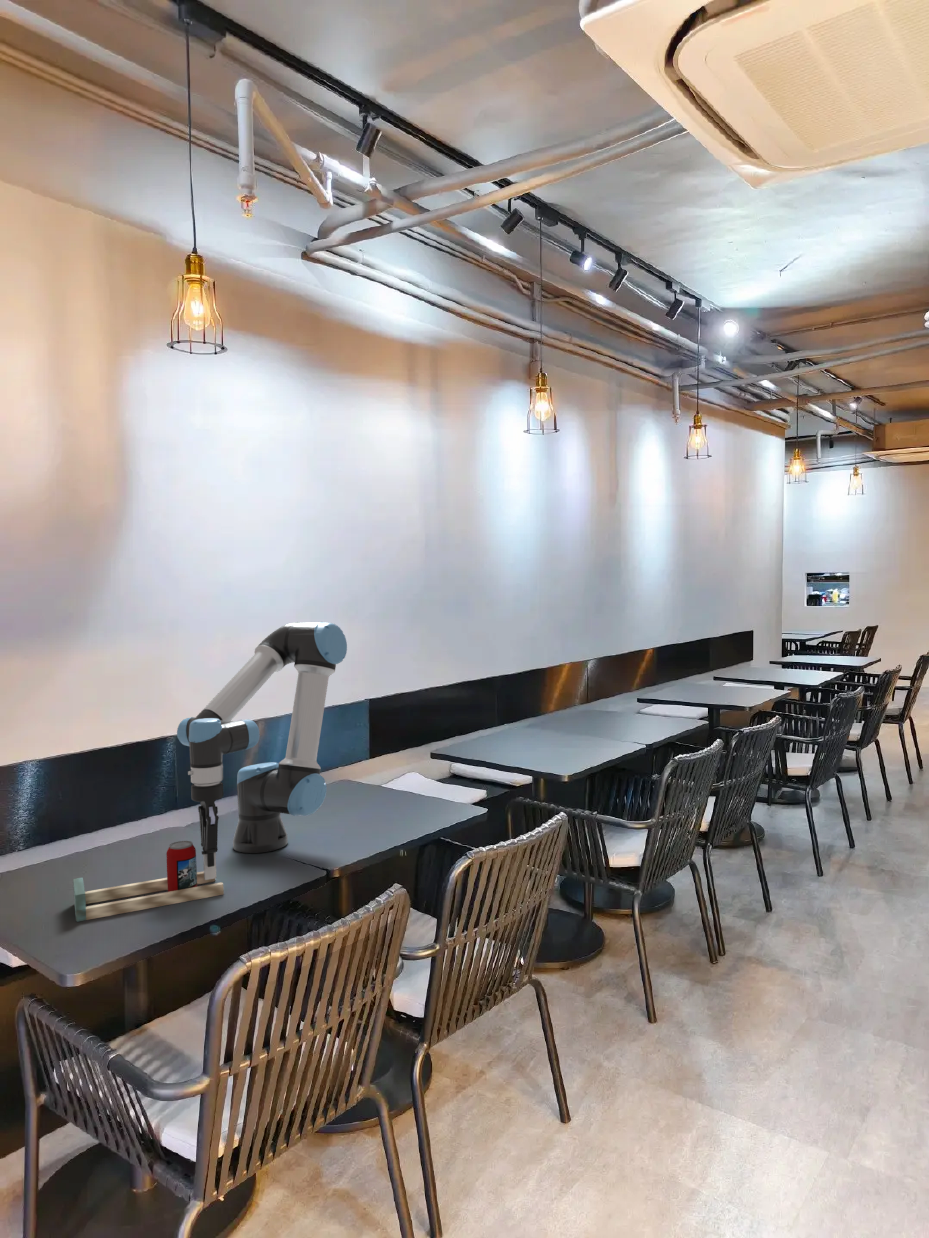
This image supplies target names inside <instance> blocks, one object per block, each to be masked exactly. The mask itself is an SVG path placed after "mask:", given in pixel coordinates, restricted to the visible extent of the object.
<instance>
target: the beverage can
mask: <svg viewBox="0 0 929 1238" xmlns="http://www.w3.org/2000/svg"><path fill="white" fill-rule="evenodd" d="M193 843H194V842H192V841H191V840H179V841H174V842H172V843H170V844H169V846H168V848H167V850H166V854H165V855H166V878H167V884H168V890H167V892H170V891H176V890H182V889H187V888H193V887H198V884H197V872H198V871H197V870H198V869H197V868H198V867H197V850H196V847H195V846H194V844H193Z"/></svg>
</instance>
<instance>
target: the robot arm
mask: <svg viewBox="0 0 929 1238" xmlns="http://www.w3.org/2000/svg"><path fill="white" fill-rule="evenodd" d="M347 643H348V641H347V638H346V635H345V634H344V631H343V630H342V629H341V627H340V626H338V625H337V624H335V623H332V622H325V621H320V622H319V621H318V622H315V621H314V622H298V621H297V622H291V623H290V622H289V623H287V624H284V625H282V626H281V627H279V628H277V629H275V630H274V631H272V632H271V633H270V634H269V635H267V636H266V637H264V639H263V640H262V641H261V642H260V643H259V644H258V645H257V646H256V647H255V648H254V654H253V655H252V657H251V658H249V660H248V661H246V663H245V664H244V665H243V666H242V668H240V669H239V670H238V672H236V674H235V675H234V676H233V677H232V678H231V679H230V680H229V681H228V682H227V683H226V685H224V686H223V688H222V689H221V690H220V691H218V693H217V694H216V695H215V696H214V697H213V698H212V700H211V701H209V703H207V705H206V706H205V707H204V708H202V710H201V711H200V712H199V713H198V714H197V716H195V717H193V716H192V717H186V718H184V719H182V720H180V722H179V724H178V726H177V729H176V736H177V739H178V740H179V742H180V744H182V745H183V746H187V747H188V748H189V765H190V770H189V771H187V775H188V776H190V783H192V785H191V786H190V792H191V795H190V797H191V798H190V799H191V800H192V801H194V802H200V805H198V808H197V811H198V817H199V818H198V819H199V831H200V832H199V833H200V846H201V847H202V848H201V849H202V850H201V855H203V856H202V860H203V871H204V879H205V880H209V879H215V880H216V879H217V858H216V857H217V854H216V852H218V831H219V830H218V828H219V827H218V826H219V815H218V813H219V811H218V809H219V808H218V806H216V803H215V801H217V800H221V799H223V797H224V783H223V782H222V781H223V780H224V763H223V755H227V754H232V753H237V752H240V751H246V750H249V749H251V748H252V749H253V748H254V747H256V746H257V744H258V743H259V741H260V728H259V726H258V725H257V723H256V722H255V721H254V720H253V719H249V718H248V719H239V720H234V721H233V719H234V718H235V717H236V715H238V714H239V712H240V711H241V710H242V709H243V708H244V707H245V706H246V705H247V704H248V702H249V701H250V700H251V699H252V698H253V697H254V696H255V694H256V693H258V691H259V690H260V689H261V688H262V687H263V686H264V685H265V683H266V682H267V681H268V680H269V679H270V678H271V677H272V676H273V674H274V673H279V672H280V671H282V670H283V669H284V668H285V667H286V666H287V665H289V664H292V663H294V666H293V667H294V668H295V669H296V671H297V673H298V676H297V680H296V687H295V694H294V701H293V707H292V713H291V720H290V726H289V733H288V739H287V743H286V744H287V746H286V751H285V757H284V758H283V759H282V760H280V761H279V762H274V761H273V762H271V761H269V762H262V763H257V764H251V765H247V766H244V767H241V768H240V769H239V770H238V772H237V776H236V778H237V780H236V791H237V809H238V811H237V812H238V821H237V825H236V828H235V832H234V835H233V838H232V845H233V846H232V847H233V848H232V849H234V850H235V852H239V853H246V854H260V853H261V854H262V853H268V852H272V851H277V850H279V849H282V848H284V847H285V846H287V845H288V842H289V841H288V833H287V830H286V828H285V827H286V826H285V825H284V822H283V820H282V817H281V816H282V815H281V814H285V815H292V817H293V816H294V817H298V816H299V817H300V816H301V817H302V816H303V817H308V816H311V815H313V814H315V813H316V812H317V811H318V809H320V808H321V806H322V805H323V803H324V802H325V798H326V795H327V787H328V786H327V783H326V779H325V777H324V776H322V774H321V770H322V769H321V766H320V764H318V761H317V759H318V751H319V746H320V739H321V738H320V737H321V732H322V725H323V717H324V711H325V706H326V705H325V704H326V698H327V691H328V684H329V678H330V677H331V676H332V675H333V674H334V673H335V672H336V668H337V667H336V666H337V665H338V664H340V663H342V662H343V661H344V659H345V658H346V656H347V651H348V644H347Z"/></svg>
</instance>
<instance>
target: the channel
mask: <svg viewBox="0 0 929 1238" xmlns="http://www.w3.org/2000/svg"><path fill="white" fill-rule="evenodd" d="M72 881H73V882H72V883H73V901H74V902H73V905H74V913H75V921H76V922H78V923H79V922H83V921H89V920H94V919H99V918H104V917H111V916H116V915H119V914H120V915H121V914H125V913H132V912H137V911H142V910H148V909H154V908H158V907H162V906H163V907H164V906H168V905H170V906H171V905H174V904H179V903H185V902H189V901H197V900H200V899H201V900H202V899H207V898H212V897H218V896H224V895H225V894H224V883H223V882H222V881H221V882H216V878H215V879H209V880H205V879H204V870H203V871H197V887H193V888H187V889H182V890H176V891H170V892H168V884H167V877H163V878H158V879H152V880H145V881H140V882H134V883H129V884H128V883H127V884H121V885H117V886H116V885H115V886H111V887H110V886H109V887H105V888H104V887H103V888H99V889H93V890H88V891H86V890H85V883H84V878H83V877H78V878H73V879H72ZM212 882H216V883H212ZM207 883H208V884H207ZM209 883H211V884H209ZM201 884H203V885H201ZM204 884H205V885H204ZM198 885H199V886H198ZM162 891H166V892H162ZM156 892H159V893H156ZM151 893H155V894H151ZM144 894H145V896H144ZM146 894H149V895H146ZM139 895H143V896H139ZM135 896H138V897H135ZM127 897H128V899H123V898H127ZM129 897H132V898H129ZM121 898H122V900H117V899H121ZM111 900H116V901H111ZM106 901H111V902H106ZM100 902H105V903H100ZM94 903H98V904H94ZM99 903H100V904H99ZM89 904H93V905H89ZM87 905H88V906H87Z"/></svg>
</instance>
